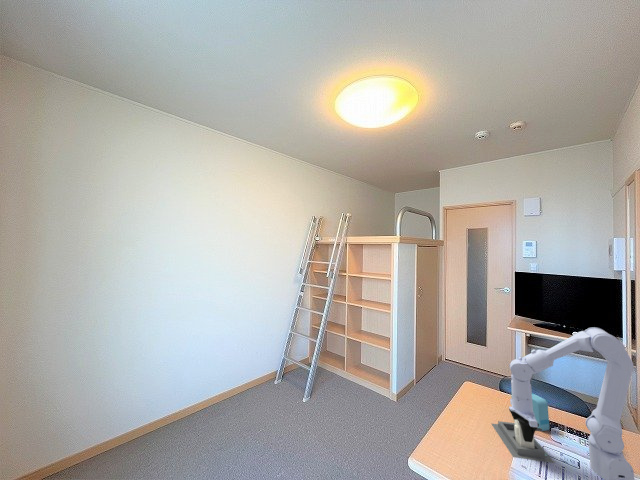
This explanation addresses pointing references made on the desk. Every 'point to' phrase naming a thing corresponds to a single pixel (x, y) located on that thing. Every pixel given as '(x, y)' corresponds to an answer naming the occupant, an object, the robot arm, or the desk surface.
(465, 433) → the desk surface
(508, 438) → the jack panel
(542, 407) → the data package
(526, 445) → the plug
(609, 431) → the robot arm
